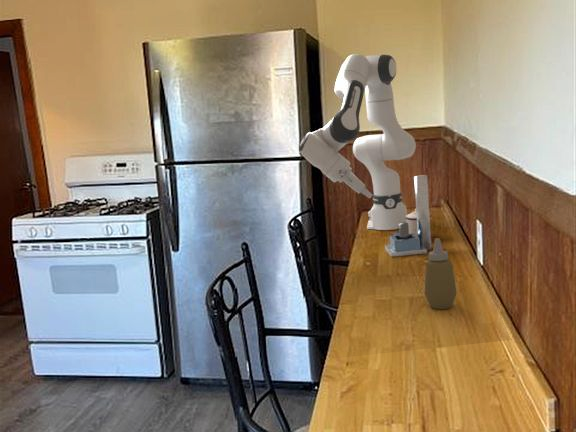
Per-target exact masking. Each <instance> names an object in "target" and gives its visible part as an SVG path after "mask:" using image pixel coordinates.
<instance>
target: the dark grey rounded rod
mask: <svg viewBox="0 0 576 432" xmlns="http://www.w3.org/2000/svg"><path fill="white" fill-rule="evenodd" d="M398 232H399V237H400V240H401V239H409V224H408V222H401V223H399V229H398Z"/></svg>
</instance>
